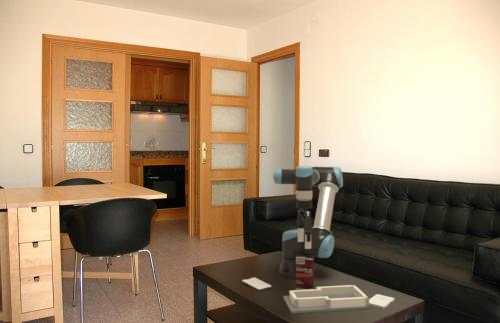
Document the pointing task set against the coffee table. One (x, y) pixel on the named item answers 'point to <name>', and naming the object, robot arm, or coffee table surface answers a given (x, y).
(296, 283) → the supplement box
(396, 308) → the coffee table surface
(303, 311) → the white tray
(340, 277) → the coffee table surface
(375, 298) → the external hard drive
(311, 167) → the robot arm
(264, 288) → the phone case
